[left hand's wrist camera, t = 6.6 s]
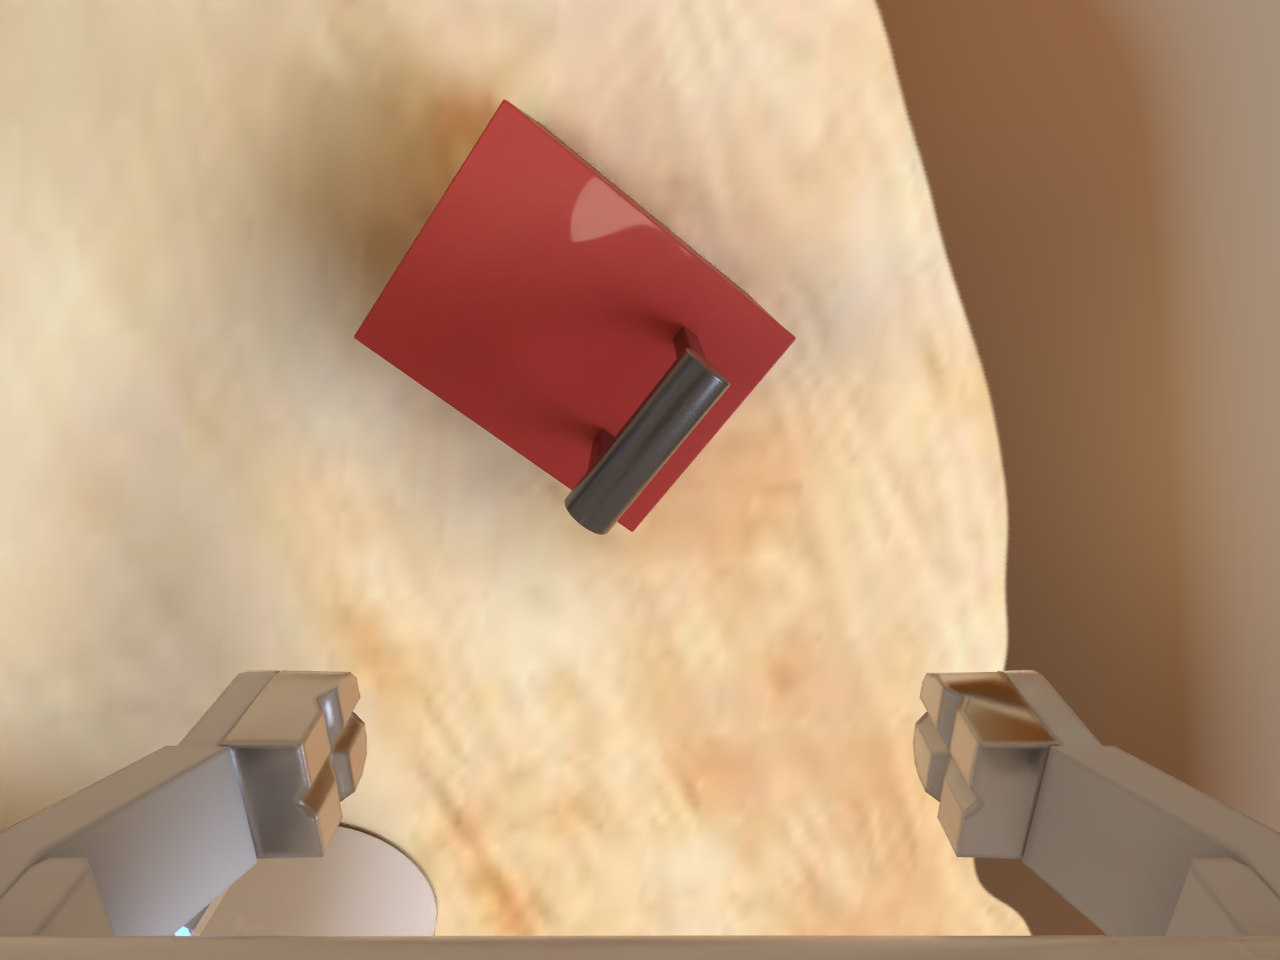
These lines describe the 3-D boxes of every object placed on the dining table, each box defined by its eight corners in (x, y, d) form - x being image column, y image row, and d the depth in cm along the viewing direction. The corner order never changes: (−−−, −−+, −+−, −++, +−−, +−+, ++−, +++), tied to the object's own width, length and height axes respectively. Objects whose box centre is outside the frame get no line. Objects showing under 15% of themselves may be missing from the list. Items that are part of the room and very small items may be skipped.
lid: (792, 334, 29) (848, 386, 21) (632, 524, 31) (630, 631, 24) (508, 101, 26) (451, 61, 18) (361, 333, 29) (257, 385, 21)
